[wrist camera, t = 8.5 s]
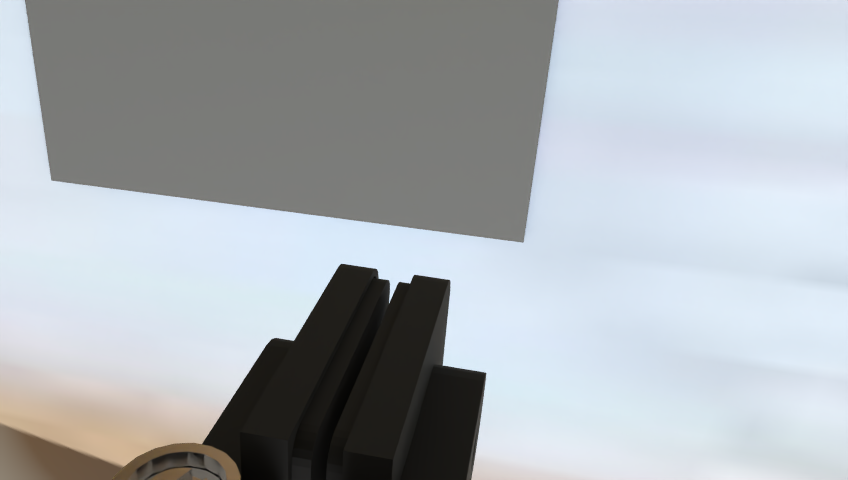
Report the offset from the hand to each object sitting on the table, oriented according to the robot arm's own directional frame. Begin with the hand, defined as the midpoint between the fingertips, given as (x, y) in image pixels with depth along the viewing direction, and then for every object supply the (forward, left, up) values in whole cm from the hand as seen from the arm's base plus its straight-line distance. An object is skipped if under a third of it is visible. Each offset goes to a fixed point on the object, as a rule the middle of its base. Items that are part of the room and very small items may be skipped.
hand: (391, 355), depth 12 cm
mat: (+10, 0, -24) cm, 26 cm away
